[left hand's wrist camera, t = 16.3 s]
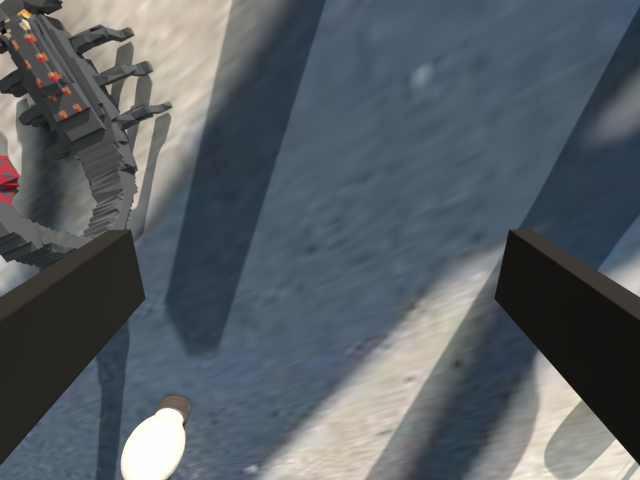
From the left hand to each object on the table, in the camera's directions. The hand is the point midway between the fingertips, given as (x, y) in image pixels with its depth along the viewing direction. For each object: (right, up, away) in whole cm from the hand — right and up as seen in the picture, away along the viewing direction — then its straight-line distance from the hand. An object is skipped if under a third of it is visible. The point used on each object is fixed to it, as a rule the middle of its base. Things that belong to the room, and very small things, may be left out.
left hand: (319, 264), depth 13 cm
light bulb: (-20, -22, +37) cm, 47 cm away
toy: (-22, +16, +21) cm, 35 cm away
